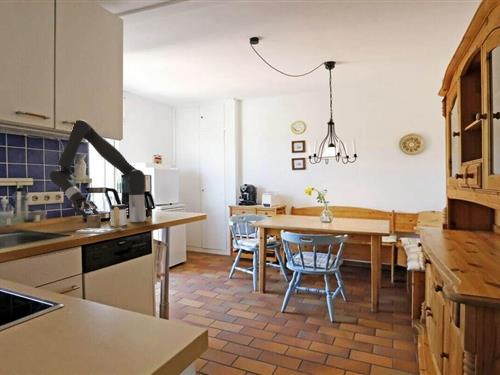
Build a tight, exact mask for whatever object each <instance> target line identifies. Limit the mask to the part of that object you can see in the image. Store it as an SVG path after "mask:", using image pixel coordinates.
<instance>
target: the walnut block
mask: <svg viewBox="0 0 500 375" xmlns="http://www.w3.org/2000/svg"><path fill="white" fill-rule="evenodd" d="M101 219H102V218H101V214H99V215H95V214H90V215H88V214H87V217H86V229H87V228H93V229H99V228H101V227H102V226H101V225H102V224H101V221H102V220H101Z"/></svg>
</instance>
